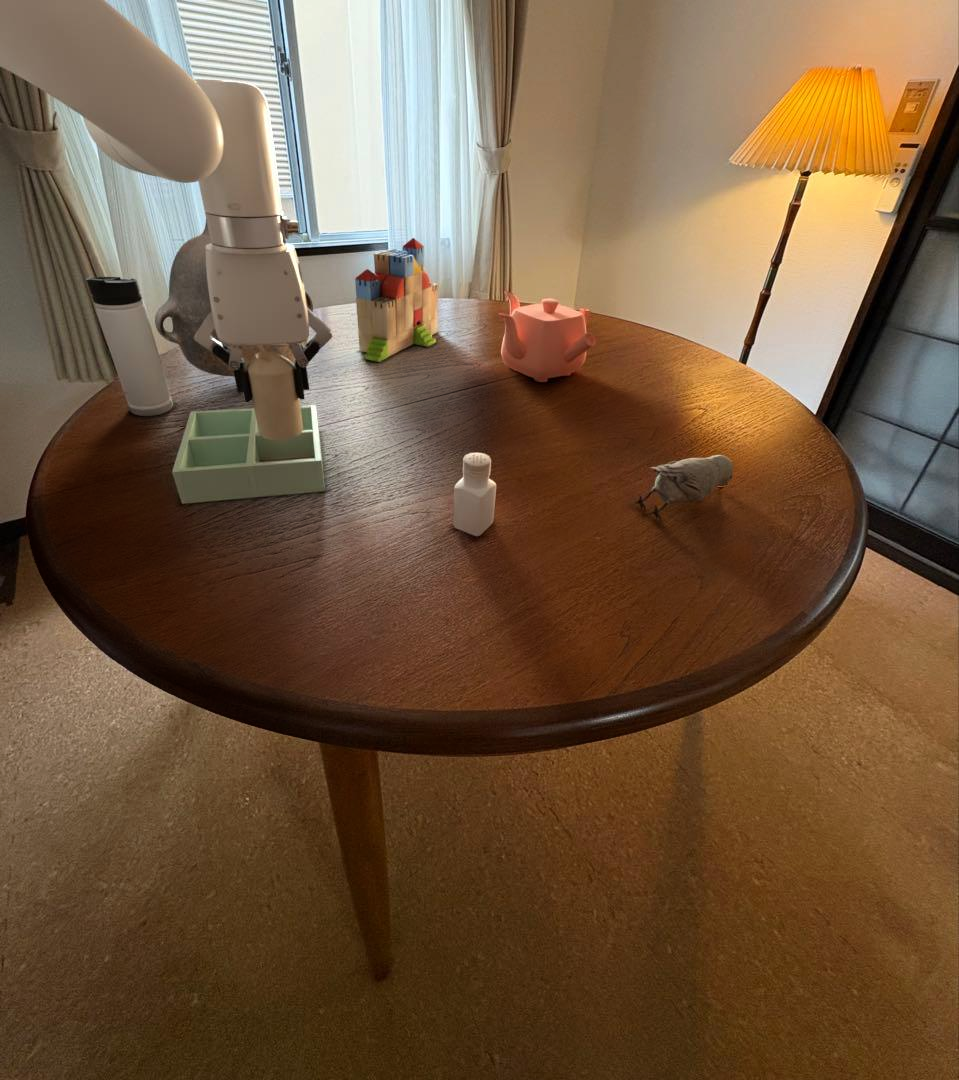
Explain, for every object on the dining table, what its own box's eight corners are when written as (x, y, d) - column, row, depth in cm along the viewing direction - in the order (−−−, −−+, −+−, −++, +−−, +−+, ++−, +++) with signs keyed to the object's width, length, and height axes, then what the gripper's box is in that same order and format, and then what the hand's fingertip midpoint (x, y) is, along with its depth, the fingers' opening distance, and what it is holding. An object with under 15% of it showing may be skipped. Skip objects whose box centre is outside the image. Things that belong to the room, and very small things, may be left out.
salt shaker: (467, 513, 72) (471, 447, 66) (494, 523, 70) (500, 457, 65) (450, 528, 69) (453, 460, 63) (478, 539, 68) (483, 471, 62)
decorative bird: (736, 498, 79) (755, 451, 75) (656, 529, 72) (671, 479, 67) (706, 480, 83) (722, 434, 78) (626, 508, 75) (639, 459, 71)
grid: (181, 504, 70) (171, 472, 67) (198, 440, 83) (190, 411, 80) (325, 491, 74) (321, 460, 71) (319, 432, 87) (315, 404, 85)
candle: (312, 428, 74) (302, 352, 68) (284, 444, 70) (270, 365, 64) (278, 418, 75) (266, 343, 69) (249, 434, 71) (233, 356, 65)
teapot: (492, 383, 108) (498, 308, 99) (499, 352, 122) (505, 284, 114) (587, 393, 107) (601, 318, 98) (582, 360, 121) (594, 292, 113)
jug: (256, 416, 90) (214, 201, 72) (153, 390, 96) (91, 184, 78) (340, 369, 109) (324, 188, 91) (250, 349, 115) (218, 175, 96)
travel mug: (120, 414, 88) (71, 277, 76) (146, 398, 93) (105, 268, 81) (156, 419, 88) (114, 282, 75) (181, 403, 93) (145, 272, 81)
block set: (393, 366, 112) (389, 260, 100) (335, 352, 116) (325, 249, 104) (457, 331, 132) (460, 240, 121) (406, 320, 137) (404, 231, 125)
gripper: (329, 228, 64) (343, 382, 75) (163, 224, 59) (204, 388, 70) (334, 240, 58) (348, 405, 69) (150, 237, 54) (196, 413, 65)
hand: (275, 395), depth 69 cm, fingers closed on candle, 5 cm apart
